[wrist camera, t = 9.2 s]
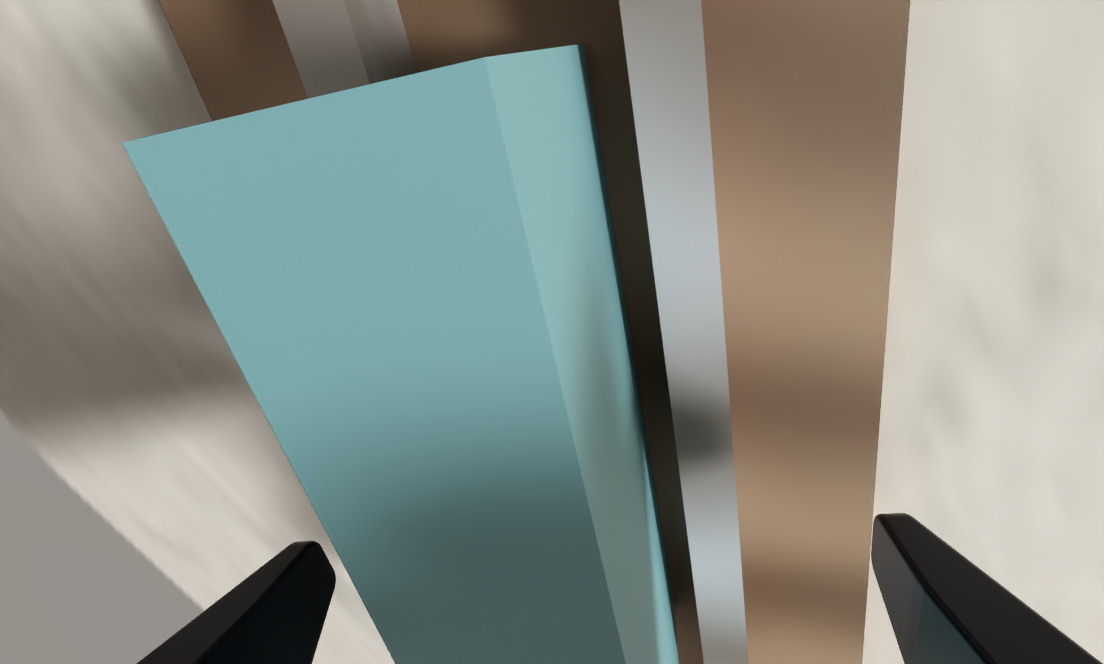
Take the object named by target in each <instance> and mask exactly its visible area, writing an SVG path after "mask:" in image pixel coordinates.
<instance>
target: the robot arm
mask: <svg viewBox="0 0 1104 664" xmlns="http://www.w3.org/2000/svg"><path fill="white" fill-rule="evenodd" d="M871 558H872V565H873V569H874V572H875V576H876V579H877V582H878V585H879V588H880V591H881V594H882V597H883V600H884V603H885V606H886V609H887V612H888V615H889V618H890V621H891V624H892V627H893V630H894V633H895V636H896V639H897V642H898V645H899V648H900V651H901V654H902V657H903V660H904V663H905V664H1102V663H1101V662H1100V661H1099V660H1097V659H1096V658H1095V657H1093V656H1092V655H1091V654H1090V653H1088V652H1087V651H1086V650H1084V649H1083V648H1082V647H1080V646H1079V645H1078V644H1077V643H1075V642H1074V641H1073V640H1071V639H1070V638H1069V637H1067V636H1066V635H1065V634H1064V633H1062V632H1061V631H1060V630H1058V629H1057V628H1056V627H1055V626H1053V625H1052V624H1051V623H1049V622H1048V621H1047V620H1045V619H1044V618H1043V617H1042V616H1040V615H1039V614H1038V613H1036V612H1035V611H1034V610H1033V609H1031V608H1030V607H1029V606H1027V605H1026V604H1025V603H1023V602H1022V601H1021V600H1020V599H1018V598H1017V597H1016V596H1014V595H1013V594H1012V593H1010V592H1009V591H1008V590H1007V589H1005V588H1004V587H1003V586H1001V585H1000V584H999V583H998V582H996V581H995V580H994V579H992V578H991V577H990V576H988V575H987V574H986V573H985V572H983V571H982V570H981V569H979V568H978V567H977V566H975V565H974V564H973V563H972V562H970V561H969V560H968V559H966V558H965V557H964V556H963V555H961V554H960V553H959V552H957V551H956V550H955V549H953V548H952V547H951V546H950V545H948V544H947V543H946V542H944V541H943V540H942V539H941V538H939V537H938V536H937V535H935V534H934V533H933V532H931V531H930V530H929V529H928V528H926V527H925V526H924V525H922V524H921V523H920V522H918V521H917V520H916V519H915V518H913V517H912V516H910V515H908V514H905V513H894V514H879V515H877V516H876V517H875V519H874V523H873V537H872V551H871ZM335 582H336V576H335V572H334V570H333V568H332V566H331V564H330V562H329V560H328V558H327V556H326V555H325V553H324V551H323V549H322V547H321V546H320V544H319V543H317V542H316V541H302V542H295V543H292V544H290V545H289V546H288V547H286V548H285V549H284V550H283V551H281V552H280V553H279V554H277V555H276V556H275V557H274V558H272V559H271V560H270V561H268V562H267V563H266V564H264V565H263V566H262V567H261V568H259V569H258V570H257V571H255V572H254V573H253V574H252V575H250V576H249V577H248V578H246V579H245V580H244V581H243V582H241V583H240V584H239V585H237V586H236V587H235V588H234V589H232V590H231V591H230V592H228V593H227V594H226V595H224V596H223V597H222V598H221V599H219V600H218V601H217V602H215V603H214V604H213V605H212V606H210V607H209V608H208V609H206V610H205V611H204V612H203V613H201V614H200V615H199V616H197V617H196V618H195V619H194V620H192V621H191V622H190V623H188V624H187V625H186V626H185V627H183V628H182V629H181V630H179V631H178V632H177V633H176V634H174V635H173V636H172V637H170V638H169V639H168V640H166V641H165V642H164V643H163V644H161V645H160V646H159V647H158V648H156V649H155V650H153V651H152V652H151V653H150V654H148V655H147V656H146V657H145V658H143V659H142V660H141V661H139V662H138V663H137V664H312V661H313V658H314V654H315V651H316V648H317V644H318V641H319V638H320V634H321V631H322V628H323V625H324V621H325V618H326V615H327V611H328V608H329V605H330V601H331V598H332V595H333V592H334V588H335Z"/></svg>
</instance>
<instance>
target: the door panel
mask: <svg viewBox="0 0 1104 664" xmlns="http://www.w3.org/2000/svg"><path fill="white" fill-rule="evenodd" d="M122 144H123V146H124V148H125V150H126V152H127V154H128V156H129V158H130V159H131V161H132V163H133V165H134V167H135V169H136V171H137V173H138V175H139V177H140V178H141V180H142V182H143V184H144V186H145V188H146V190H147V192H148V194H149V196H150V198H151V199H152V201H153V203H154V205H155V207H156V209H157V211H158V213H159V215H160V217H161V218H162V220H163V222H164V224H165V226H166V228H167V230H168V232H169V234H170V236H171V237H172V239H173V241H174V243H175V245H176V247H177V249H178V251H179V253H180V255H181V257H182V258H183V260H184V262H185V264H186V266H187V268H188V270H189V272H190V274H191V276H192V277H193V279H194V281H195V283H196V285H197V287H198V289H199V291H200V293H201V295H202V296H203V298H204V300H205V302H206V304H207V306H208V308H209V310H210V312H211V314H212V316H213V317H214V319H215V321H216V323H217V325H218V327H219V329H220V331H221V333H222V335H223V336H224V338H225V340H226V342H227V344H228V346H229V348H230V350H231V352H232V354H233V355H234V357H235V359H236V361H237V363H238V365H239V367H240V369H241V371H242V373H243V375H244V376H245V378H246V380H247V382H248V384H249V386H250V388H251V390H252V392H253V394H254V395H255V397H256V399H257V401H258V403H259V405H260V407H261V409H262V411H263V413H264V414H265V416H266V418H267V420H268V422H269V424H270V426H271V428H272V430H273V432H274V434H275V435H276V437H277V439H278V441H279V443H280V445H281V447H282V449H283V451H284V453H285V454H286V456H287V458H288V460H289V462H290V464H291V466H292V468H293V470H294V472H295V473H296V475H297V477H298V479H299V481H300V483H301V485H302V487H303V489H304V491H305V493H306V494H307V496H308V498H309V500H310V502H311V504H312V506H313V508H314V510H315V512H316V513H317V515H318V517H319V519H320V521H321V523H322V525H323V527H324V529H325V531H326V532H327V534H328V536H329V538H330V540H331V542H332V544H333V546H334V548H335V550H336V552H337V553H338V555H339V557H340V559H341V561H342V563H343V565H344V567H345V569H346V571H347V572H348V574H349V576H350V578H351V580H352V582H353V584H354V586H355V588H356V590H357V591H358V593H359V595H360V597H361V599H362V601H363V603H364V605H365V607H366V609H367V611H368V612H369V614H370V616H371V618H372V620H373V622H374V624H375V626H376V628H377V630H378V631H379V633H380V635H381V637H382V639H383V641H384V643H385V645H386V647H387V649H388V651H389V652H390V654H391V656H392V658H393V660H394V662H395V664H679V660H678V646H677V632H676V619H675V607H674V600H673V594H672V588H671V582H670V575H669V569H668V563H667V557H666V550H665V544H664V538H663V532H662V525H661V519H660V513H659V507H658V500H657V494H656V488H655V482H654V475H653V469H652V463H651V457H650V450H649V444H648V438H647V432H646V425H645V419H644V413H643V407H642V400H641V394H640V388H639V382H638V375H637V369H636V363H635V357H634V350H633V344H632V338H631V332H630V325H629V319H628V313H627V307H626V300H625V294H624V288H623V282H622V275H621V269H620V263H619V257H618V250H617V244H616V238H615V232H614V225H613V219H612V213H611V207H610V200H609V194H608V188H607V182H606V175H605V169H604V163H603V157H602V150H601V144H600V138H599V132H598V125H597V119H596V113H595V107H594V100H593V94H592V88H591V82H590V75H589V69H588V63H587V57H586V50H585V44H577V45H570V46H563V47H556V48H548V49H541V50H534V51H526V52H519V53H512V54H505V55H497V56H490V57H483V58H479V59H475V60H471V61H466V62H462V63H458V64H454V65H449V66H445V67H441V68H437V69H432V70H428V71H424V72H420V73H415V74H411V75H407V76H403V77H398V78H394V79H390V80H386V81H381V82H377V83H373V84H369V85H365V86H360V87H356V88H352V89H348V90H343V91H339V92H335V93H331V94H326V95H322V96H318V97H314V98H309V99H305V100H301V101H297V102H292V103H288V104H284V105H280V106H275V107H271V108H267V109H263V110H258V111H254V112H250V113H246V114H241V115H237V116H233V117H229V118H224V119H220V120H216V121H212V122H207V123H203V124H199V125H195V126H190V127H186V128H182V129H178V130H173V131H169V132H165V133H161V134H156V135H152V136H148V137H144V138H139V139H135V140H131V141H127V142H123V143H122Z"/></svg>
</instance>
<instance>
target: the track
mask: <svg viewBox="0 0 1104 664" xmlns="http://www.w3.org/2000/svg"><path fill="white" fill-rule="evenodd" d="M159 2H160V4H161V6H162V9H163V11H164V13H165V15H166V18H167V20H168V22H169V24H170V27H171V29H172V31H173V33H174V36H175V38H176V40H177V42H178V45H179V47H180V49H181V51H182V54H183V56H184V58H185V60H186V63H187V65H188V67H189V69H190V72H191V74H192V76H193V78H194V81H195V83H196V85H197V87H198V90H199V92H200V94H201V96H202V99H203V101H204V103H205V105H206V107H207V110H208V112H209V114H210V116H211V119H212V121H216V120H220V119H224V118H229V117H233V116H237V115H241V114H246V113H250V112H254V111H258V110H263V109H267V108H271V107H275V106H280V105H284V104H288V103H292V102H297V101H301V100H305V99H309V98H314V97H318V96H322V95H326V94H331V93H335V92H339V91H343V90H348V89H352V88H356V87H360V86H365V85H369V84H373V83H377V82H381V81H386V80H390V79H394V78H398V77H403V76H407V75H411V74H415V73H420V72H424V71H428V70H432V69H437V68H441V67H445V66H449V65H454V64H458V63H462V62H466V61H471V60H475V59H479V58H483V57H490V56H497V55H505V54H512V53H519V52H526V51H534V50H541V49H548V48H556V47H563V46H570V45H577V44H585V50H586V57H587V63H588V69H589V75H590V82H591V88H592V94H593V100H594V107H595V113H596V119H597V125H598V132H599V138H600V144H601V150H602V157H603V163H604V169H605V175H606V182H607V188H608V194H609V200H610V207H611V213H612V219H613V225H614V232H615V238H616V244H617V250H618V257H619V263H620V269H621V275H622V282H623V288H624V294H625V300H626V307H627V313H628V319H629V325H630V332H631V338H632V344H633V350H634V357H635V363H636V369H637V375H638V382H639V388H640V394H641V400H642V407H643V413H644V419H645V425H646V432H647V438H648V444H649V450H650V457H651V463H652V469H653V475H654V482H655V488H656V494H657V500H658V507H659V513H660V519H661V525H662V532H663V538H664V544H665V550H666V557H667V563H668V569H669V575H670V582H671V588H672V594H673V600H674V607H675V619H676V632H677V646H678V660H679V664H862V656H863V642H864V628H865V615H866V601H867V587H868V573H869V560H870V546H871V532H872V518H873V504H874V491H875V477H876V463H877V449H878V435H879V422H880V408H881V394H882V380H883V367H884V353H885V339H886V325H887V311H888V298H889V284H890V270H891V256H892V243H893V229H894V215H895V201H896V187H897V174H898V160H899V146H900V132H901V118H902V105H903V91H904V77H905V63H906V50H907V36H908V22H909V8H910V0H159Z"/></svg>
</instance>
